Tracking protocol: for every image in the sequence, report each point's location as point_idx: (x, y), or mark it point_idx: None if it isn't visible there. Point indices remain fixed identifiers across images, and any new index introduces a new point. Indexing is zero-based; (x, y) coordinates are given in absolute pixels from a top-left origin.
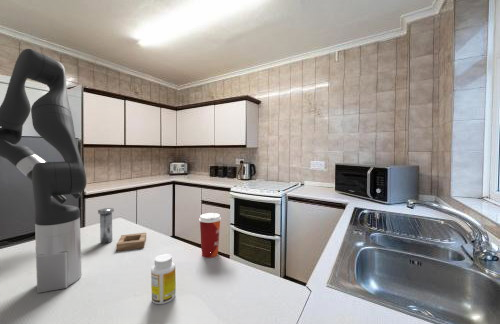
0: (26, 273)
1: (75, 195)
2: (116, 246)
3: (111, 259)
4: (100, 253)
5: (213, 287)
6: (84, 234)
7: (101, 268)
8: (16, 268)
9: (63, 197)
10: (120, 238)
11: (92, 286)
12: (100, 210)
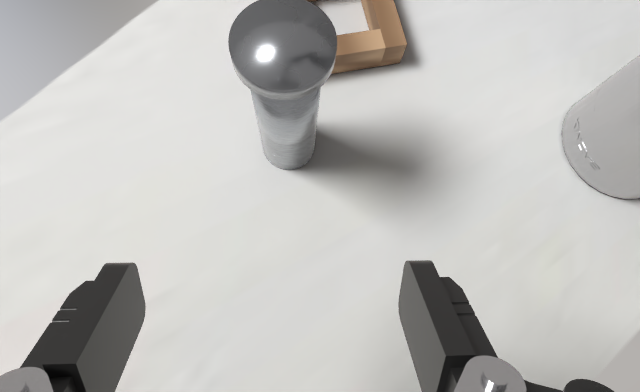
0: (574, 303)
1: (127, 328)
2: (404, 50)
3: (470, 54)
4: (416, 115)
5: None
6: (146, 322)
7: (535, 59)
8: (538, 383)
9: (442, 287)
10: (337, 52)
11: (634, 40)
12: (302, 69)
